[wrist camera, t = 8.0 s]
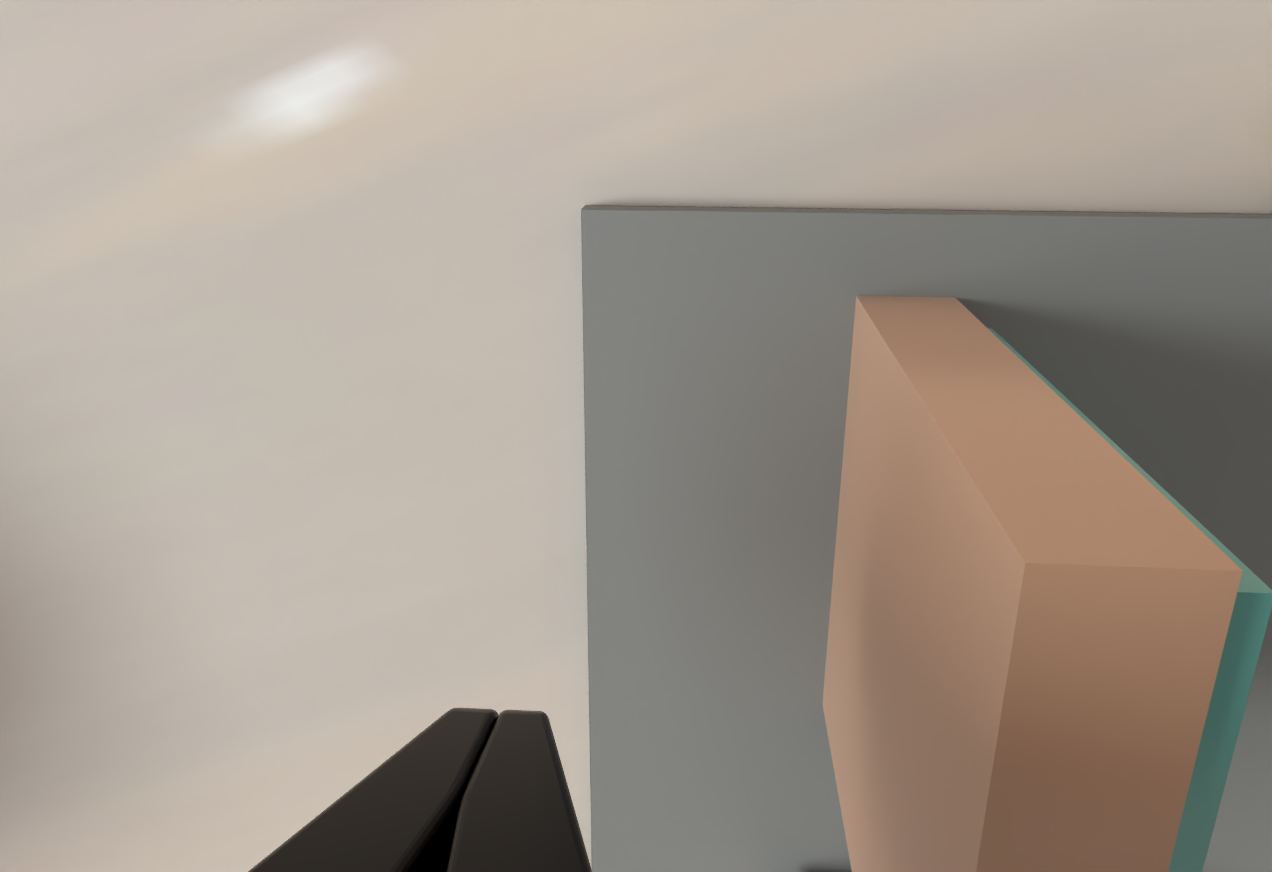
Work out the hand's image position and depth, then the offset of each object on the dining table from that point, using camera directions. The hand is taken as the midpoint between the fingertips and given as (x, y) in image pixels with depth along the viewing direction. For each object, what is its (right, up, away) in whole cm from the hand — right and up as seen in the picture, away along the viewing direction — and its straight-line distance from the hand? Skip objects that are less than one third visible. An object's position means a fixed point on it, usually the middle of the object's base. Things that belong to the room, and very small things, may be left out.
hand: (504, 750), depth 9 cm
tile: (+4, +2, +5) cm, 7 cm away
